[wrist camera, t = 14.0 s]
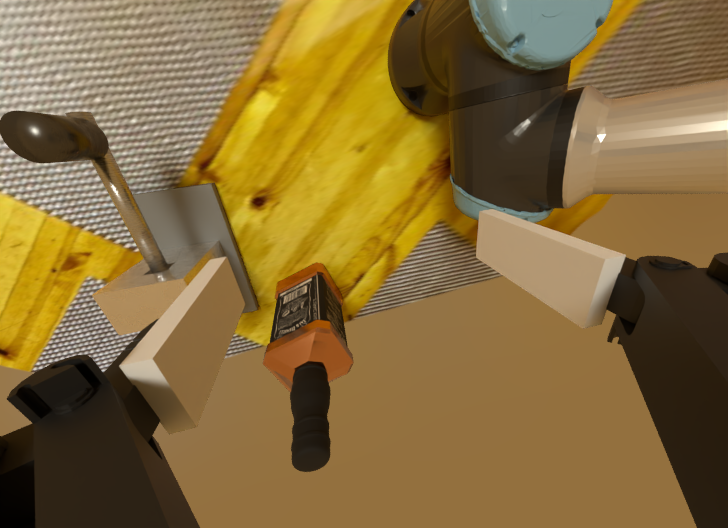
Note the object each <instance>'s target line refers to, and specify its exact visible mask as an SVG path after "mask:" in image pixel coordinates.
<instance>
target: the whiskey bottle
mask: <svg viewBox="0 0 728 528" xmlns="http://www.w3.org/2000/svg"><path fill="white" fill-rule="evenodd" d="M275 298H276V300H277V303H276V309H275V315H274V320H273V326H272V332H271V338H270V344H268V345H267V349H266V352H265V355H264V360H263V364H264V365H265V366H266V367H267V368H268V370H270V372H271V373H272V374H273V375H274V376H275V377H276V378H277V379H278V380H279V381H280V382H281V383H282V384H283V385H284V386H285V387H286V389H288V391H289V392H290V400H291V409H292V414H293V417H294V425H293V428H292V434H293V442H292V447H291V451H292V464H293V466H294V467H295V468H296V469H297V470H299V471H303V472H311V471H315V470H318V469H320V468H322V467H323V466H325V465H326V463H327V462H328V461H329V458H330V438H329V422H328V420H327V413H328V409H329V404H330V386H329V382H331V381H333V380H335V379H337V378H339V377H341V376H343V375H345V374H347V373H348V372H349V371H350V369H351V367H352V365H353V357H352V353H351V352H350V350H349V349H348V347H347V341H346V335H345V328H344V321H343V315H342V309H341V307H342V305H343V301H342V294H341V293H340V291H339V290H338V288H337V286H336V285H335V283H334V281H333V280H332V278H331V276H330V275H329V273H328V272H327V270H326V268H325V267H324V265H323V264H321V263H315V264H313V265H311V266H309V267H307V268H305V269H303V270H301V271H299V272H297V273H295V274H293V275H291V276H289V277H287V278H285V279H283V280H281V281H279V282H278V283H277V286H276V292H275Z"/></svg>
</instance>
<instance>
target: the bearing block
mask: <svg viewBox="0 0 728 528" xmlns="http://www.w3.org/2000/svg"><path fill="white" fill-rule="evenodd" d="M161 252H162V254H163V256H164V258H165V260H166V262H167V264H168V266H169V269H168V270H167V271H164V272H159V273H153V274H152V272H151V271H150V269H149V267H148V265H147V263H146V261H145V260H144V259H143V260H142V261H140V262H139V263H138V264H136V265H135V266H133V267H132V268H130V269H129V270H128V271H126V272H125V273H123V274H122V275H120V276H119V277H117V278H116V279H115V280H113V281H112V282H110V283H109V284H107V285H106V286H104V287H103V288H102V289H100V290H99V291H97V292H96V293H94V294H93V295H92V296H93V298H94V299H95V301H96V302H97V304H98V305H99V307H100V308H101V309H102V311H103V312H104V314H105V315H106V317H107V318H108V320H109V321H110V323H111V324H112V326H113V327H114V328H115V330H116V331H117V333H118V334H119V335H123V334H128V333H132V332H137V331H142V330H143V329H144V328H145V327H147V326H148V325H149V324H151V323H152V322H154V321H155V320H156V319H160V318H161V316H162V315H163V314H164V313H165V312H166V311H167V309H168V308H169V307H170V306H171V305H172V304H173V302H174V301H175V300H176V299H177V298H178V297H179V295H180V294H181V293H182V292H183V291H184V289H185V288H186V287H187V286H188V285H189V284H190V282H191V281H192V280H193V279H194V278H195V277H196V275H197V274H198V273H199V272H200V271H201V270H202V268H203V267H204V266H205V265H206V264H207V263H208V261H209V260H211V259H216V258H222V257H225V255H224V253H223V250H222V248H221V245H220V242H219V240H218V241H212V242H206V243H201V244H195V245H189V246H183V247H177V248H171V249H166V250H161Z"/></svg>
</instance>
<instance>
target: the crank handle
mask: <svg viewBox="0 0 728 528" xmlns="http://www.w3.org/2000/svg"><path fill="white" fill-rule="evenodd" d="M65 114H66V116H59V115H51V114H42V113H34V112H26V111H11V112H8V113H6V114H5V115H4V116H3V117H2V118H1V120H0V134H1V136H2V138H3V140H4V142H5V143H6V144H7V145H8V147H9V148H10V149H11V150H12V151H14V152H15V153H16V154H18V155H19V156H21V157H23V158H25V159H27V160H29V161H32V162H36V163H54V162H69V161H84V160H91V162H92V164H93V166H94V167H95V169H96V171H97V173H98V175H99V177H100V178H101V180H102V182H103V184H104V186H105V188H106V189H107V191H108V193H109V195H110V197H111V199H112V201H113V202H114V204H115V206H116V208H117V210H118V212H119V213H120V215H121V217H122V219H123V221H124V223H125V224H126V226H127V228H128V230H129V232H130V234H131V236H132V237H133V239H134V241H135V243H136V245H137V247H138V248H139V250H140V252H141V254H142V256H143V258H144V260H145V261H146V263H147V265H148V267H149V269H150V271H151V272H152V274H153V273H159V272H164V271H167V270H168V269H169V266H168V264H167V262H166V260H165V258H164V256H163V254H162V252H161V250H160V248H159V246H158V244H157V242H156V240H155V238H154V236H153V234H152V232H151V230H150V228H149V226H148V224H147V222H146V220H145V218H144V216H143V214H142V212H141V210H140V208H139V206H138V204H137V203H136V201H135V199H134V197H133V195H132V193H131V191H130V189H129V187H128V185H127V183H126V181H125V179H124V177H123V175H122V173H121V171H120V169H119V167H118V165H117V163H116V161H115V159H114V157H113V155H112V153H111V151H110V149H109V145H108V140H107V138H106V136H105V134H104V133H103V131H102V130H101V129H100V128H99V127H98V125H97V123H96V121H95V119H94V117H93V115H92V113H91V112H69V113H65Z"/></svg>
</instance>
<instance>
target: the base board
mask: <svg viewBox="0 0 728 528" xmlns="http://www.w3.org/2000/svg"><path fill="white" fill-rule="evenodd" d="M133 197H134V199H135V201H136V203H137V204H138V206H139V208H140V210H141V212H142V214H143V216H144V218H145V220H146V222H147V224H148V226H149V228H150V230H151V232H152V234H153V236H154V238H155V240H156V242H157V244H158V246H159V248H160V250H166V249H171V248H177V247H183V246H189V245H195V244H201V243H206V242H212V241H218V240H219V242H220V245H221V248H222V250H223V253H224V255H225V257H227V258H228V261H229V263H230V266H231V268H232V271H233V274H234V276H235V279H236V281H237V284H238V287H239V289H240V292H241V294H242V297H243V300H244V302H245V306H244V309H243V311H242V313H246V312H251V311H256V310H257V309H258V303H257V300H256V297H255V295H254V292H253V289H252V286H251V283H250V281H249V278H248V275H247V272H246V270H245V267H244V264H243V261H242V259H241V256H240V253H239V250H238V247H237V245H236V242H235V239H234V236H233V234H232V231H231V228H230V225H229V222H228V220H227V217H226V214H225V211H224V209H223V206H222V203H221V200H220V197H219V195H218V192H217V189H216V186H215V184H214V183H209V184H202V185H195V186H188V187H181V188H174V189H167V190H160V191H153V192H147V193H140V194H133Z"/></svg>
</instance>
